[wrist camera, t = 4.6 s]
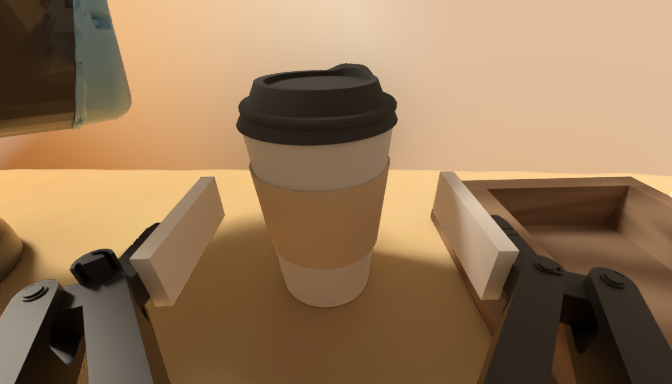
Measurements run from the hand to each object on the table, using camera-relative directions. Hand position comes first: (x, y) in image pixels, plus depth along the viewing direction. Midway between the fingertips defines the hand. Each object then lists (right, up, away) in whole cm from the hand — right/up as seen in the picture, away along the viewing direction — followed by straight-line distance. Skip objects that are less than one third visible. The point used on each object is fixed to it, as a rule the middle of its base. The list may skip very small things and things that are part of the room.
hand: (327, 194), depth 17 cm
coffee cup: (0, -6, +6) cm, 9 cm away
